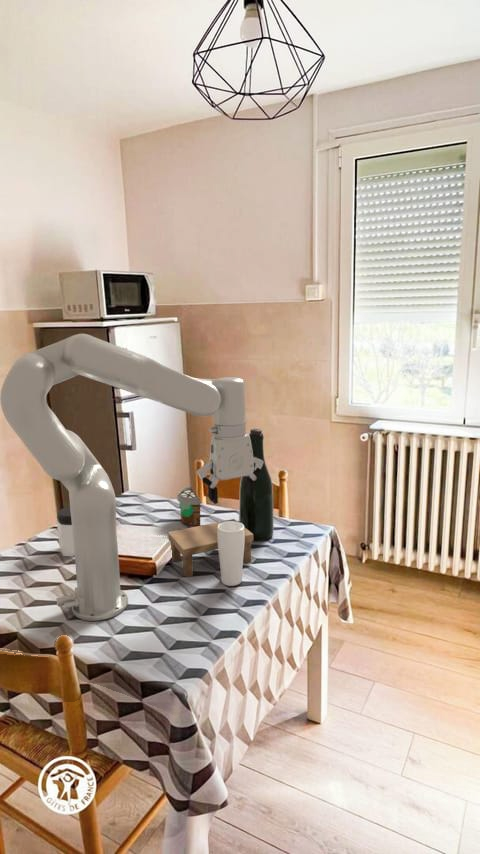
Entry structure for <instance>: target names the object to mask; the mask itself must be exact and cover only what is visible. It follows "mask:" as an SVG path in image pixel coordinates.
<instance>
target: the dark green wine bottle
mask: <svg viewBox="0 0 480 854" xmlns="http://www.w3.org/2000/svg"><path fill="white" fill-rule="evenodd" d="M249 430H250V433H248V434H249V436H250V440H251V445H252V451H253V457H256V458H258V459H261V460H263V461H264V463H263V466H262V468H261V472H260V473H259V474H258V476H257V477H256V480H255V481H254V484H255V491H254V496H252V497H251V496H249V495H248V494H246V492H245V479H246V478H247V476H244V477H240V483H239V498H238V499H239V502H238V505H239V507H238V522H240V523H242V524H243V525H244V527H245V528H246V529H247V530H249V531H250V532H251V533H252V534H253V541H252V542H260V541H261V542H262V541H265V540H268V539H270V538H272V536H273V535H274V528H275V527H274V525H275V524H274V521H275V520H274V489H273V488H274V487H273V480H272V477H271V474H270V473H269V469H268V467H267V463H266V460H265V453H264V434H263V432H262V431H263V430H262V429H260V428H252V429H249ZM255 465H256V463H254V467H255Z"/></svg>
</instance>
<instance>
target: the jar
mask: <svg viewBox="0 0 480 854" xmlns="http://www.w3.org/2000/svg"><path fill="white" fill-rule="evenodd" d="M56 518H57V520H56V523H57V533H58V546H59V551H60V552H61V555H62V556H63V557H75V553H74V544H73V532H72V520H71V511H70V506H67V507H63V508H61V509H59V510H58V511H57V516H56Z"/></svg>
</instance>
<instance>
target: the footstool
mask: <svg viewBox="0 0 480 854" xmlns="http://www.w3.org/2000/svg"><path fill="white" fill-rule="evenodd" d="M227 521H236V522H238V520H236V519H235V518H232V519H226V520H222V521H217V522H212V523H207V524H202V525H201V524H200V526H197V527H188V528H183V529H178V530H172V531H169V532H167V540H168V541H169V542H170V551H171V550H172V560H171V562H172V563H174V562H175V563H178V561H179V562H182V574H183V576H184V577H185V578H188V577H193V576H194V570H193V569H194V566H193V565H194V564H193V562H194V561H193V556H194V555H200V554H203V553H207V552H211V551H215V550H216V551H218V541H217V528H218V525H219V524H220V523H223V522H227ZM244 531H245V543H244V556H243V564H245V563H249V562H251V561H252V542H254V541H253V534H252V533H251V532H250V531H249V530H247V529H246V528H245V527H244ZM181 555H182V557H181Z"/></svg>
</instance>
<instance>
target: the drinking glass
mask: <svg viewBox="0 0 480 854" xmlns="http://www.w3.org/2000/svg"><path fill="white" fill-rule="evenodd" d="M236 521H237V520H236ZM236 521H227V522H223V523H220V524H219V525H218V528H217V541H218V549H217V551H218V559H219V568H220V569H219V570H220V580H221V581H220V582H221V583H222V584H223V585H225V586H228V587H235V586H238V585H240V584H242V581H243V565H244V562H243V556H244V543H245V531H244V525H243V524H242V523H240V522H239V521H237V522H236Z"/></svg>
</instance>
